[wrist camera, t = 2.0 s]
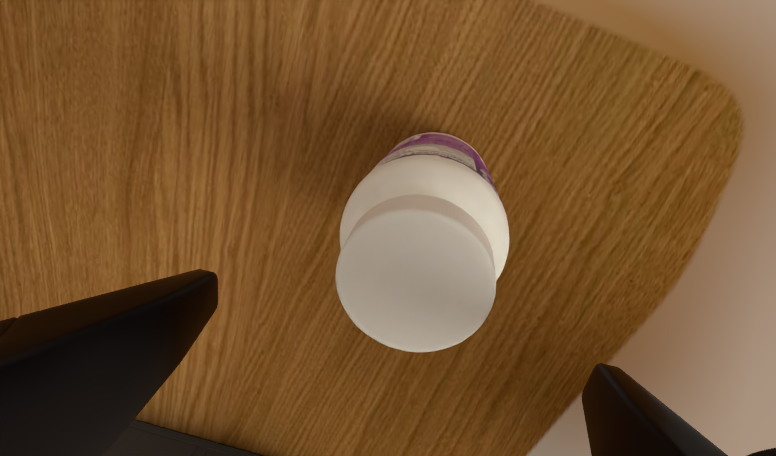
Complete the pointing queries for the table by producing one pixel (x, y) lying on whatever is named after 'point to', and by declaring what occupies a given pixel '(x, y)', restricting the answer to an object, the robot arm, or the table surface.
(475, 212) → the pill bottle
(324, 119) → the table surface
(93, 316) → the robot arm
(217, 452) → the compartment tray
